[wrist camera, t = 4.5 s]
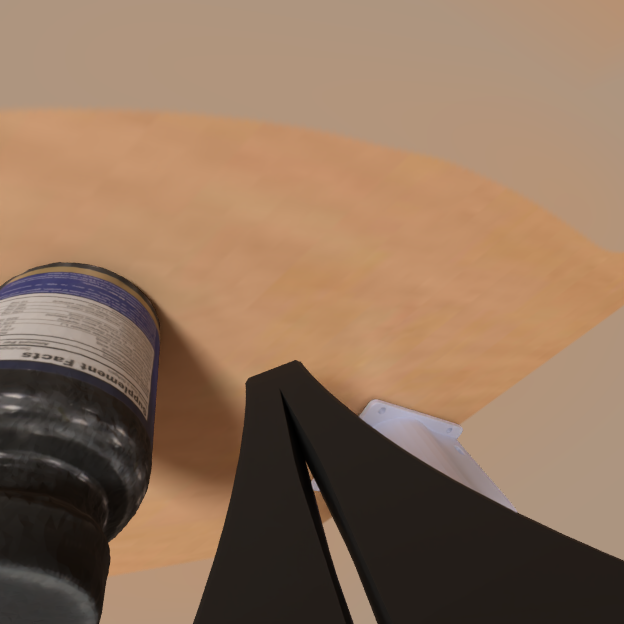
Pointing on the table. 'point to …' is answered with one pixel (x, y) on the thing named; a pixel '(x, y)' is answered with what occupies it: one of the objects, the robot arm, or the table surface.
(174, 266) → the table surface
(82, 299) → the pill bottle
